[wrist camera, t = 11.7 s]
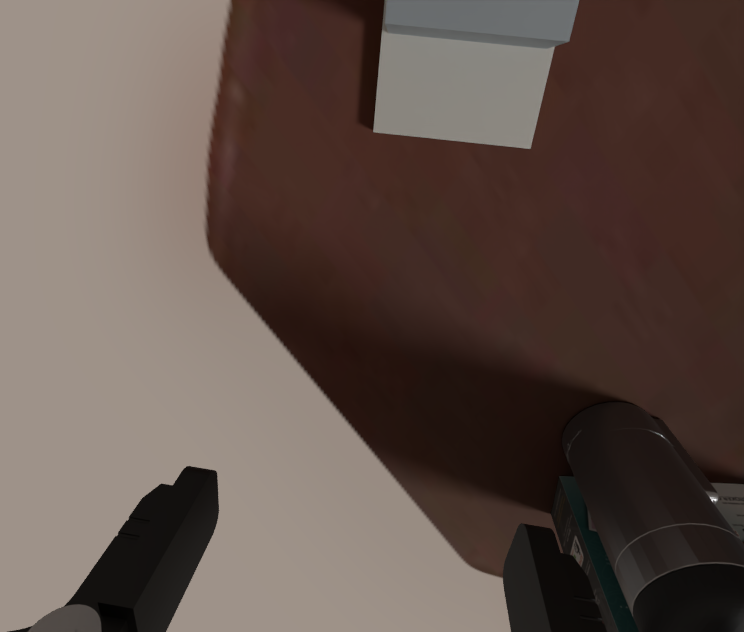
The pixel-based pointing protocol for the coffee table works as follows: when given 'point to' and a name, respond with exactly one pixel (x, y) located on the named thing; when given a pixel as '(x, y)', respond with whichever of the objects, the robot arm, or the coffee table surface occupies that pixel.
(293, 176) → the coffee table surface
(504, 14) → the socket
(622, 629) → the cake mix box
